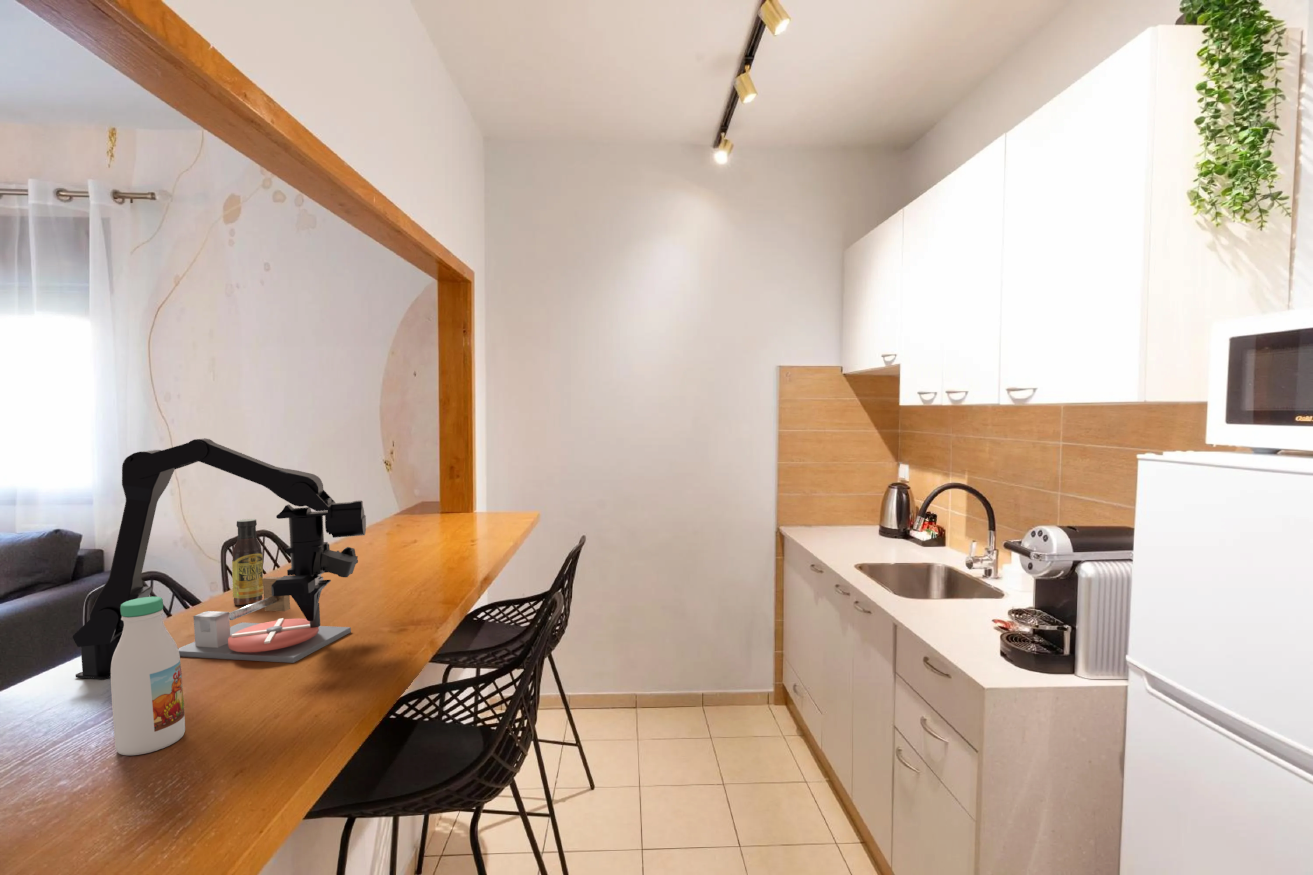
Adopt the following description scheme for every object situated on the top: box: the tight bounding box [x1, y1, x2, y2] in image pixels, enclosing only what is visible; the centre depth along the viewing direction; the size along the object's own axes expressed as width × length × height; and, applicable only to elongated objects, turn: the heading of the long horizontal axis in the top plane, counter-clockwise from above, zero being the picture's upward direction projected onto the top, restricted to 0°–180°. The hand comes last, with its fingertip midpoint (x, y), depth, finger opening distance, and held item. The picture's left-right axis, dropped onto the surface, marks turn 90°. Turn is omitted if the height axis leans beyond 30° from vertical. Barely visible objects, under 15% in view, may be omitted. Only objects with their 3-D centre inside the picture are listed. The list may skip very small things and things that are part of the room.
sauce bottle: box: [231, 518, 264, 606], centre depth 157 cm, size 7×6×20 cm
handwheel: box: [228, 602, 321, 652], centre depth 126 cm, size 15×15×6 cm
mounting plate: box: [178, 610, 352, 664], centre depth 129 cm, size 16×26×7 cm, turn 79°
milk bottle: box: [110, 596, 186, 756], centre depth 91 cm, size 8×8×20 cm
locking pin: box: [229, 576, 291, 621], centre depth 137 cm, size 13×5×7 cm, turn 169°
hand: (311, 620), depth 126 cm, fingers closed
